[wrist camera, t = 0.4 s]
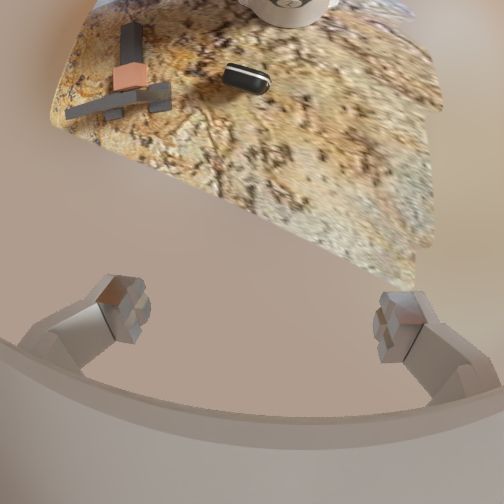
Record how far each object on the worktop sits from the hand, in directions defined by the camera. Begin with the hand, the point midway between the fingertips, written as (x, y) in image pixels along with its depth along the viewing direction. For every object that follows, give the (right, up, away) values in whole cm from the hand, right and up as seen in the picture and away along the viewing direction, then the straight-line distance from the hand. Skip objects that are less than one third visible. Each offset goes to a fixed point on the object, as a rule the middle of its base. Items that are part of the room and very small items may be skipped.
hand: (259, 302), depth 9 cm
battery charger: (0, +33, +35) cm, 48 cm away
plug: (-24, +41, +33) cm, 58 cm away
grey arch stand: (-24, +33, +38) cm, 56 cm away
